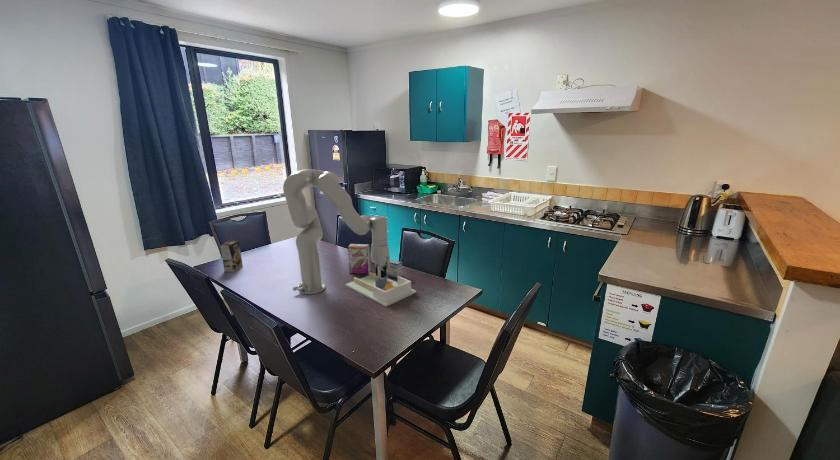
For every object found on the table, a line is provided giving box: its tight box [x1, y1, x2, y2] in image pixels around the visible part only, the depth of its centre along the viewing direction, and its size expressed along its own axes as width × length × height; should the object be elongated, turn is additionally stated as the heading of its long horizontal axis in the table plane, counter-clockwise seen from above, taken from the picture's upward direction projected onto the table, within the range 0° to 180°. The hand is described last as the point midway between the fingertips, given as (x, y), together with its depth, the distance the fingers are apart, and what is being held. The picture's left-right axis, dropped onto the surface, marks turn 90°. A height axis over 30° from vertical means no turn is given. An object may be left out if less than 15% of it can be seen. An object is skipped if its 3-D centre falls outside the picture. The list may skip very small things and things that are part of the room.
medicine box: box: [386, 259, 403, 279], centre depth 190 cm, size 8×4×9 cm, turn 62°
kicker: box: [375, 265, 388, 289], centre depth 173 cm, size 6×3×15 cm, turn 136°
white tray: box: [345, 271, 417, 308], centre depth 175 cm, size 20×32×6 cm, turn 46°
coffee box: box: [219, 240, 243, 273], centre depth 200 cm, size 9×6×16 cm
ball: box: [385, 283, 394, 291], centre depth 170 cm, size 4×4×4 cm
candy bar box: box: [347, 243, 371, 275], centre depth 194 cm, size 11×5×16 cm, turn 84°
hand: (381, 275), depth 173 cm, fingers closed on kicker, 3 cm apart
